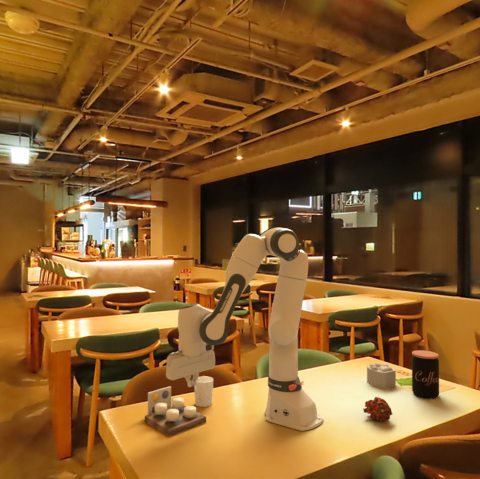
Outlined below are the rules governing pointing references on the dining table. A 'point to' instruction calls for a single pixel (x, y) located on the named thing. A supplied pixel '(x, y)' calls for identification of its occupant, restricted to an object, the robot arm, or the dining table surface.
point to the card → (159, 398)
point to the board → (174, 422)
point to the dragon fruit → (378, 409)
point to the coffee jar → (425, 374)
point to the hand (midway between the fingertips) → (192, 386)
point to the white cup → (203, 391)
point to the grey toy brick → (381, 375)
